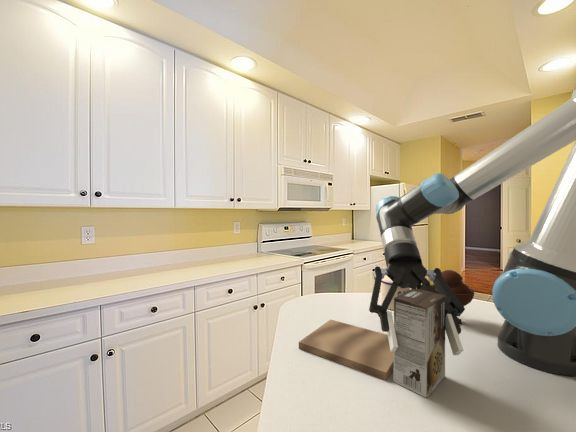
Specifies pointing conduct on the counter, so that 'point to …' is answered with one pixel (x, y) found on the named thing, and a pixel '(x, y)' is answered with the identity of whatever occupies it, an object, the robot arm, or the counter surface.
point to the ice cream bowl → (457, 288)
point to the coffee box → (419, 340)
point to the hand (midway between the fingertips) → (425, 351)
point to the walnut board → (352, 347)
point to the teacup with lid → (385, 288)
